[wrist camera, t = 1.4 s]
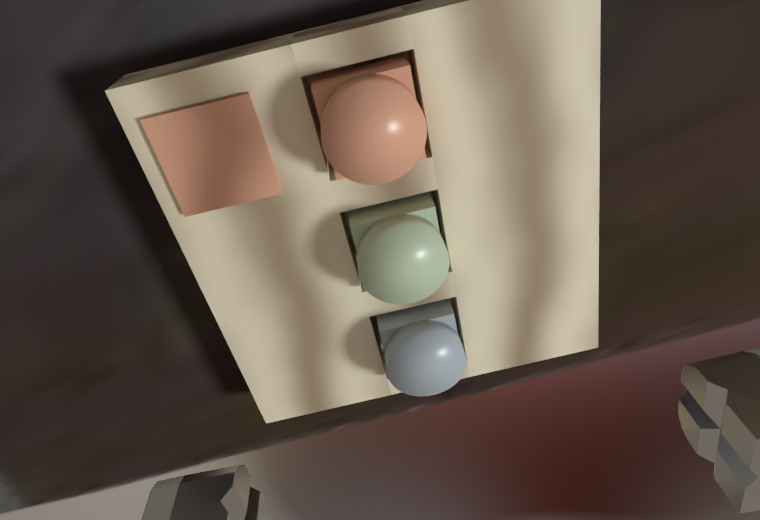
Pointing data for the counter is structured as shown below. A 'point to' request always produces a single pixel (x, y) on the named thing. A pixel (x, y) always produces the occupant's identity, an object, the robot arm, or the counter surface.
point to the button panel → (384, 189)
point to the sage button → (400, 249)
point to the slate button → (422, 348)
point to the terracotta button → (371, 121)
